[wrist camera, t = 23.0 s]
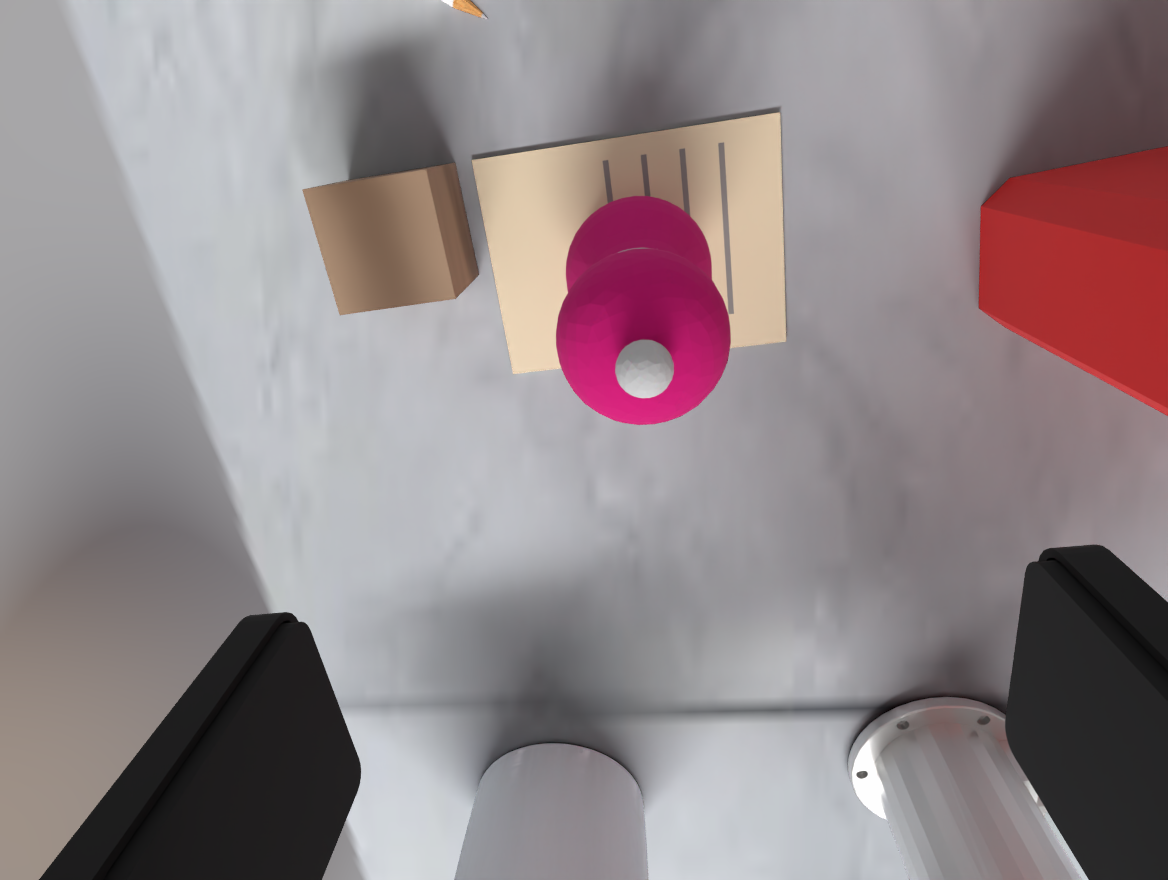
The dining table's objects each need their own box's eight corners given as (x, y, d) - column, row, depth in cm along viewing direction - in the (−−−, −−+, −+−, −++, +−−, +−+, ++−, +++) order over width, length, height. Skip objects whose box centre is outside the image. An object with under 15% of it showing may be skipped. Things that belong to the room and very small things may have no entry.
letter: (779, 112, 35) (780, 112, 35) (785, 340, 40) (786, 341, 40) (472, 159, 37) (471, 160, 37) (513, 372, 42) (513, 374, 42)
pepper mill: (711, 308, 39) (782, 468, 21) (586, 332, 40) (551, 504, 22) (693, 175, 37) (757, 227, 18) (559, 203, 38) (494, 280, 19)
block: (455, 162, 37) (426, 169, 32) (479, 274, 40) (455, 298, 34) (349, 179, 38) (302, 189, 33) (378, 289, 40) (339, 314, 35)
